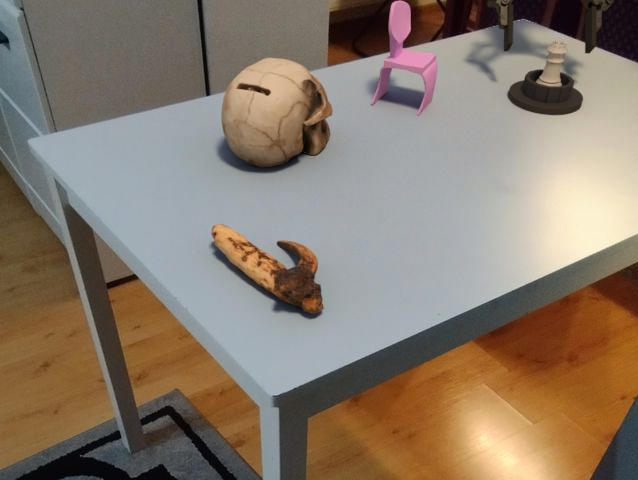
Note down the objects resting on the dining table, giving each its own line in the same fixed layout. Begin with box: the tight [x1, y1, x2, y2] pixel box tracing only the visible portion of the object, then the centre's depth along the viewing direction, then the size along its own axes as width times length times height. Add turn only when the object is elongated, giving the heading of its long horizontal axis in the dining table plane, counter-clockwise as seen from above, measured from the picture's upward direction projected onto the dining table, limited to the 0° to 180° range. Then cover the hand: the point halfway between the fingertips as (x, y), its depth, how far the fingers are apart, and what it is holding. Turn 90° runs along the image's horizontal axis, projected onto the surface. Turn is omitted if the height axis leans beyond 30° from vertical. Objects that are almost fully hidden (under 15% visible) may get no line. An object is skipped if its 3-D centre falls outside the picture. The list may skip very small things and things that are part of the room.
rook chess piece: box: [536, 40, 569, 86], centre depth 111 cm, size 4×4×8 cm
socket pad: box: [507, 68, 584, 116], centre depth 113 cm, size 12×12×4 cm
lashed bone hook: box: [211, 223, 325, 315], centre depth 76 cm, size 9×5×18 cm
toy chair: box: [370, 0, 439, 116], centre depth 106 cm, size 8×9×15 cm
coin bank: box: [220, 57, 334, 168], centre depth 95 cm, size 16×17×13 cm
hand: (549, 48), depth 112 cm, fingers open, 13 cm apart
